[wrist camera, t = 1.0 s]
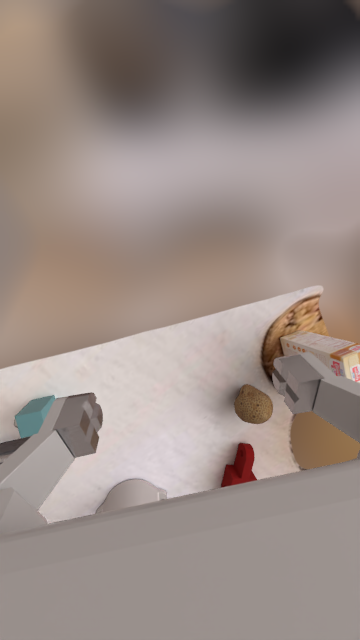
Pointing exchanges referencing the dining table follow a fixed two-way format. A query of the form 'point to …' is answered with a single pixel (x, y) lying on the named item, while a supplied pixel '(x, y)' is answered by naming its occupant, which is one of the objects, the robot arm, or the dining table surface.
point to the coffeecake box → (326, 352)
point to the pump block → (33, 416)
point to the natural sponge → (253, 405)
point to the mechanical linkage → (240, 467)
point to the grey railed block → (10, 448)
